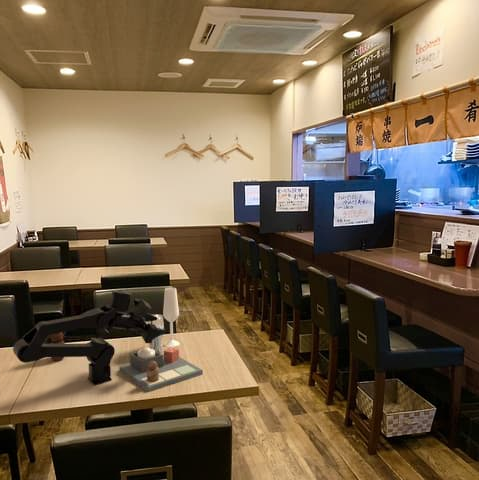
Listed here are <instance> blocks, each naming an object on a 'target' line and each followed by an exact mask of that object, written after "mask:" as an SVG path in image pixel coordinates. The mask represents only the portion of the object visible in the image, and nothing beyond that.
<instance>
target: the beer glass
mask: <svg viewBox="0 0 479 480" xmlns="http://www.w3.org/2000/svg"><path fill="white" fill-rule="evenodd" d="M152 315H153V316H156V317H157V320H155V321H149V322H146V323H147V324H149V323H150V324H154V325H155V326H156V327H157V328H160V329H164V330H165V326H164V325H165V324H164V316H163V314H157V313H156V314H152ZM163 337H164V334H163V335H161V336H158V337H156V338H155V339H153V341H152V343H151V344H149V343H148V348H152V349H153V350H155V351H157V352H158V353H160V354H162V355H163V354H164V348H163Z"/></svg>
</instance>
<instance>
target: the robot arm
mask: <svg viewBox="0 0 479 480" xmlns="http://www.w3.org/2000/svg"><path fill="white" fill-rule="evenodd" d="M132 294H133V293H131V292H128V291H123V290H114V291H113V290H112V292H111V298H110V303H109V304H108V303H106V304H104V305H102V306H100V307H99V308H98V307H97V308H93V309H89V310H86V311H85V312H84V313H82V314H79V315H74V316H69V317H63V318H56V319H52V320H46V321H43V320H42V321H38V322H37V324H35V326H34V327H33V328H32V329H30V330H29V331H28V332H27V333H26V334H24V335H23V337H22V338H21V339H18V340H17V341H16V342H15V343H14V345H13V347H12V352H13V354H14V355H15V357H16V358H17V359H18V360H19V361H20V363H21V362H22V363H25V364H27V363H31V362H33V363H34V362H38V361H39V360H43V359H45V358H51V357H64V358H82V357H83V358H85V357H86V360H87V361H88V377H86V378H87V380H88V381H89V382H90V383H91V384H92V385H95V386H96V385H100V384H103V383H107V382H109V381H112V377H111V376H112V375H111V374H112V372H111V371H112V370H111V369H112V367H111V362H112V359H113V357H114V355H115V352H116V350H115V349H116V348H115V347H114V345H112V344H110V343H109V342H108V341H107V340H105V339H104V338H103V337H98V338H95V337H90V341H89V342H86V343H65V344H50V343H44V342H45V341H46V339H47V337H49V335H50V336H51V334H55V333H60V332H62V333H64V332H69V331H74V330H79V329H80V330H81V329H91V330H92V329H94V330H95V329H104V330H105V332H107V333H108V334H112V331H113V329H119V330H124V331H125V332H127V333H129V332H130V331H135V332H136V334H137V333H138V334H139V333H140V331H142V332H141V335H140V336H141V338H142V339H143V341H144V342H145V344H148V345H149V344H151V343H152V341H153V339H155V338H156V337H158V336H161V335H163V336H164V335H165V334H167V331H168V330H167V329H165V328H164V329H160V328H157V327H156V326H155V325H154V324H150V323H149V324H147V323H146V322H149V321H155V320H157V317H156V316H153V314H151V313H150V312H151V311H152V307H151V305H150V304H149V303H148V302H147V301H145V300H144V299H143V298H134V299H133V300H132V305H131V307H130V309H129V306H130V302H131V299H132ZM89 362H90V363H89Z"/></svg>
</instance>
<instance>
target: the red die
mask: <svg viewBox="0 0 479 480" xmlns="http://www.w3.org/2000/svg"><path fill="white" fill-rule="evenodd" d="M179 351H180V350H179V349H178V348H175V347H169V348H168V347H167V348H166V349H163V354H164V361H167V362H170V363H173V362H175V361H177V360H179V357H180V352H179Z"/></svg>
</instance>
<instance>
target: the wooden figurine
mask: <svg viewBox="0 0 479 480" xmlns="http://www.w3.org/2000/svg"><path fill="white" fill-rule="evenodd" d="M63 339H64V332H60V333H55V334H50V340H51V342H50V343H49V344H66V342H65V341H64V340H63ZM50 358H51V359H52V360H53V361H63V359H64V358H65V357H50Z"/></svg>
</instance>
